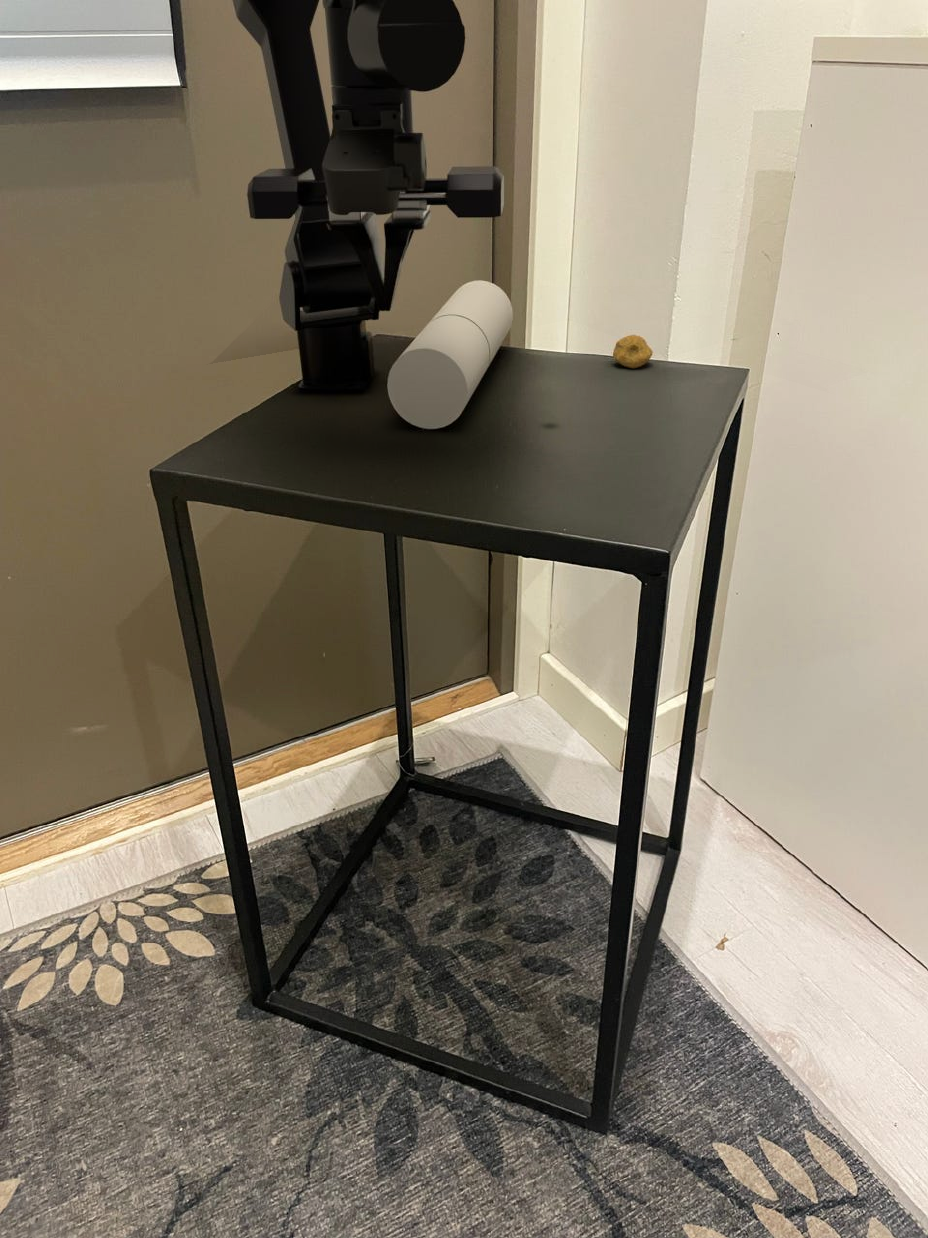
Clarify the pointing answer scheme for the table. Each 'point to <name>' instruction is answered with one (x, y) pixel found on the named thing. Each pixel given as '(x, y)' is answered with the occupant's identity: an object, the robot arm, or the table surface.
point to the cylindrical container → (450, 356)
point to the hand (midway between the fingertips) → (385, 309)
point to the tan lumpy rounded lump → (632, 351)
